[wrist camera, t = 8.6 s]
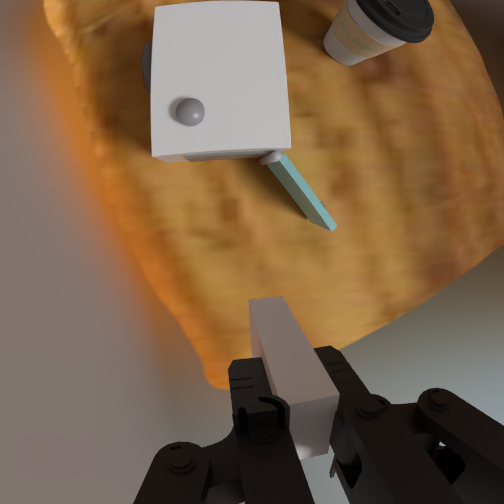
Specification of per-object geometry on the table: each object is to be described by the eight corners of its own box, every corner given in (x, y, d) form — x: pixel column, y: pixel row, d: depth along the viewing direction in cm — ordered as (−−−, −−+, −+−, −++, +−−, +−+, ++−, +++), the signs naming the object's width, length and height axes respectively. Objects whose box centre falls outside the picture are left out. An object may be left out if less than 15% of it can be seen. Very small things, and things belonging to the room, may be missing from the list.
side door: (257, 160, 32) (269, 155, 25) (271, 149, 32) (286, 142, 25) (306, 223, 35) (328, 234, 28) (319, 213, 35) (344, 221, 28)
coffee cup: (305, 62, 30) (357, 5, 16) (315, 11, 28) (361, -48, 14) (370, 86, 32) (442, 53, 17) (375, 35, 30) (436, -6, 15)
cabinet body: (156, 44, 27) (140, 5, 18) (263, 38, 29) (280, -2, 19) (156, 166, 31) (134, 161, 22) (271, 158, 33) (293, 149, 23)
